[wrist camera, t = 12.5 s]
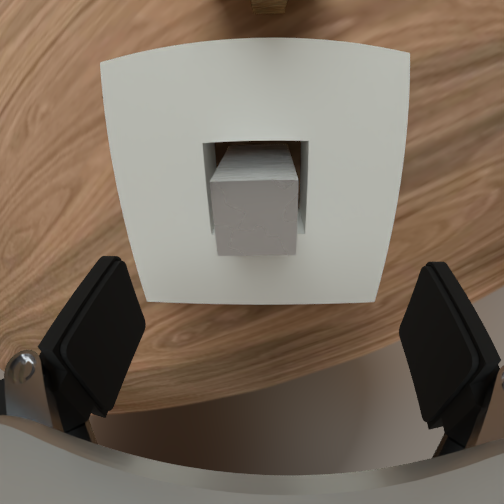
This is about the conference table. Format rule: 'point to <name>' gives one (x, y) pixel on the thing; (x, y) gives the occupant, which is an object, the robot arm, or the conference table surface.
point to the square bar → (255, 201)
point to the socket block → (259, 129)
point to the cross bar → (268, 6)
